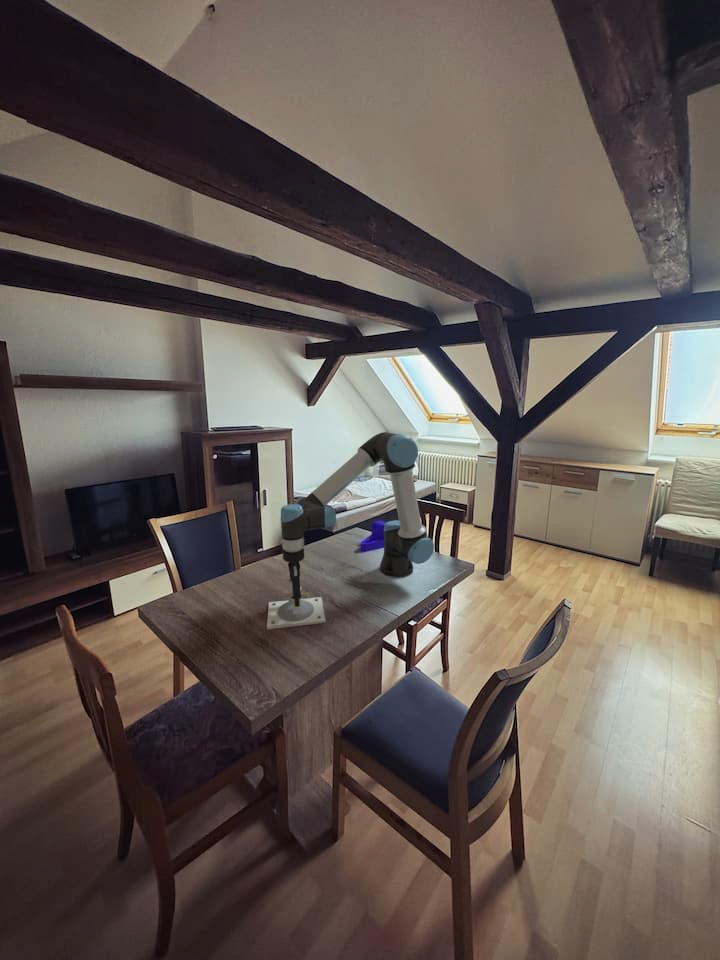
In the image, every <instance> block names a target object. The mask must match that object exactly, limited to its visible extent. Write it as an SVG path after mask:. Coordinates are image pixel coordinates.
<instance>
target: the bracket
mask: <svg viewBox="0 0 720 960" xmlns="http://www.w3.org/2000/svg"><path fill="white" fill-rule="evenodd" d="M387 522H388V521H383V520H380V519H379V520H376V521H373V522H372V523H371V534H370V535H368V536H367V537H366V538H365V539H363V540H362V541H360V542H359V544H360V545H359V546H360V550H359V551H360V552H361V553H366V552H371V551H376V550H380V549H384V525H385V524H386V523H387Z"/></svg>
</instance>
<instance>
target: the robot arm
mask: <svg viewBox="0 0 720 960" xmlns="http://www.w3.org/2000/svg"><path fill="white" fill-rule="evenodd" d="M418 447H419V446H418V445H417V443H416V441H415V440H414V439H413V438H412V437H410V436H408V435H406V434H402V433H393V432H388V431H386V432H385V431H384V432H380V433H377V434H375V435H373V436H372V437H370V438H369V439H368V440H367V441H366V442H364V443H363V444H362V445H360V446H359V447H358V448H357V452H356V453H355V454H354V455H353V456H352V457H350V459H348V460H347V461H346V462H345V463H343V464H342V465H341V466H340V467H338V468H337V470H336V471H334V472H333V473H332V474H331V475H330V476H328V478H326V480H324V481H323V482H322V483H321V484H320V485H318V486H317V487H316V488H315V489H314V490H312V492H311V493H309V494H308V495H307V496H300V497H299V498H298V499H297V500H296V501H295V503H294V504H293V503H291V504H290V503H289V504H285V505H284V506H282V507H281V509H280V529H281V540H280V544H281V547H282V551H281V552H282V560H283V561H284V562H286V563H287V566H288V572H289V582H290V583H289V585H290V592H293V597H290V598H291V599H292V598H293V614H300V613H301V599H302V598H301V593H300V592H301V591H300V586H301V581H300V579H301V578H300V577H301V563H300V562H301V561H303V560H304V558H305V548H304V547H305V537H304V535H305V534H304V532H305V531H306V532H307V531H312V530H313V531H314V530H317V529H318V530H319V529H323V528H324V529H326V528H329V527H333V526H335V524H336V522H337V514H336V513H337V512H336V510H335V508H334V507H333V506H332V505H328V504H329V503H330V502H331V501H333V499H335V498H336V497H337V496H338V495H339V494H340V493H342V492H343V491H344V490H345V489H346V488H347V487H348V486H349V485H351V484H352V483H353V482H354V481H355V480H356V479H357V478H358V477H360V476H361V474H363V473H364V472H365V471H366V470H368V469H369V468H370V467H371V468H373V467H375V466H376V465H377V464H378V463H381V462H382V463H383V465H384V469H385V473H387V474H388V475H389V476H390V480H391V481H390V482H391V487H392V492H393V496H394V500H395V506H396V511H397V517H398V520H397V519H395V520H389V521H386V522H387V523H386V524H385V525H384V548H383V556H382V557H381V561H380V563H379V571H380V573H381V574H382V575H384V576H387V577H391V578H405V577H408V576H411V575H412V574H413V573H414V565H413V563H414V564H417V565H419V564H424V563H425V562H427V561H428V560H430V558H431V556H432V555H433V554H434V551H435V544H434V541H433V540H432V538H430V537H428V533H427V532H428V531H427V528H426V526H425V525H423V524H422V520H421V514H420V510H419V504H418V499H417V492H416V486H415V482H414V480H415V479H414V476H413V470H414V468H415V466H416V465H415V463H416V462H417V458H418V456H419V448H418Z"/></svg>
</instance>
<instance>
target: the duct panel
mask: <svg viewBox="0 0 720 960" xmlns="http://www.w3.org/2000/svg"><path fill="white" fill-rule="evenodd" d="M289 600H290V599H288V600H287V599H286V600H279V601H268V610H267V622H266V630H272V629H273V630H275V629H281V628H282V629H283V628H291V627H300V626H301V627H302V626H309V625H316V624H317V625H318V624H319V625H320V624H325V623H326V622H327V621H326V616H325V610H324V603H323V599H322V596H320V597H319V596H318V597H309V598H301V613H300V614H293V604H289Z"/></svg>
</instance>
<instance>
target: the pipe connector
mask: <svg viewBox="0 0 720 960" xmlns="http://www.w3.org/2000/svg"><path fill="white" fill-rule="evenodd" d="M302 589H303V588H302V586H301V585H300V593H301V599H307V598H310V593H309V592H301V591H302ZM280 596H281V597H282V598H283V597H286V598H289V599H288V600H289V604H293V598H292V599H291V597H293V592H291V591H287V590H285V591H281V593H280Z"/></svg>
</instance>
